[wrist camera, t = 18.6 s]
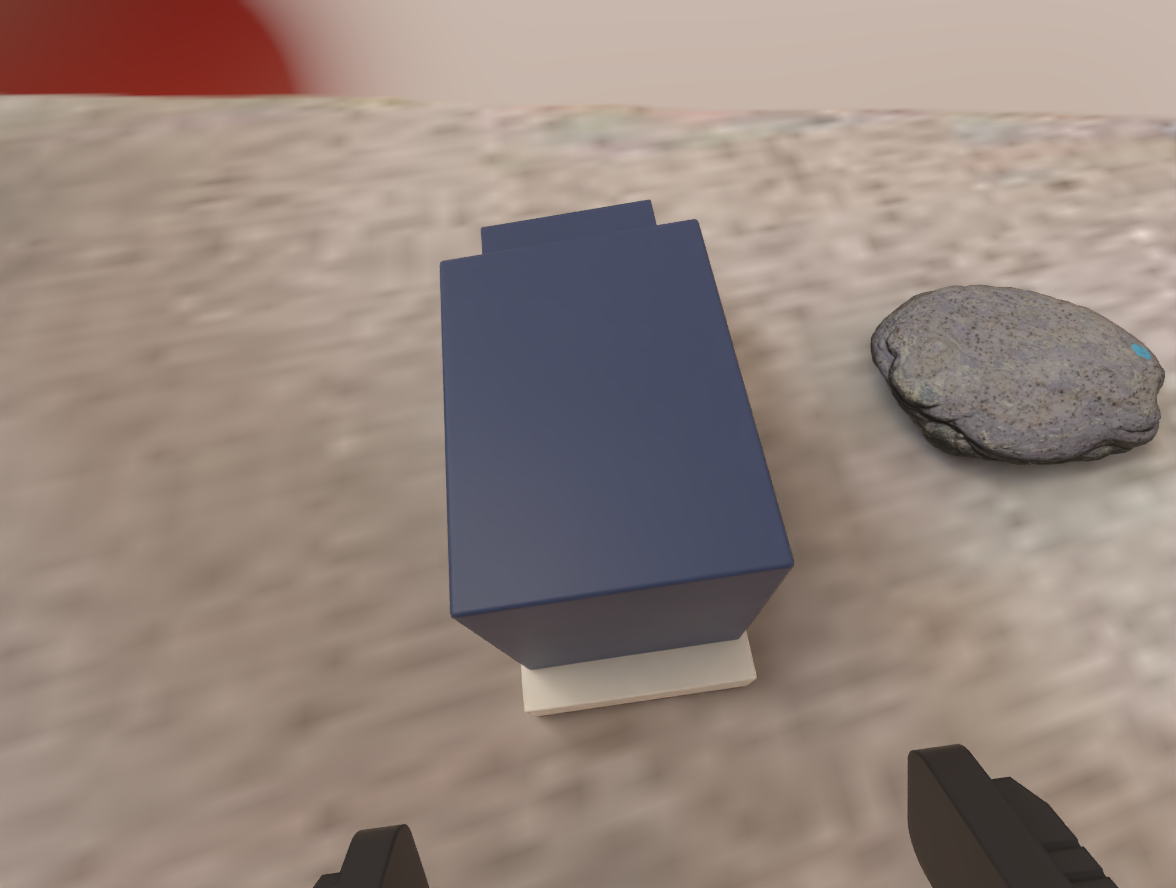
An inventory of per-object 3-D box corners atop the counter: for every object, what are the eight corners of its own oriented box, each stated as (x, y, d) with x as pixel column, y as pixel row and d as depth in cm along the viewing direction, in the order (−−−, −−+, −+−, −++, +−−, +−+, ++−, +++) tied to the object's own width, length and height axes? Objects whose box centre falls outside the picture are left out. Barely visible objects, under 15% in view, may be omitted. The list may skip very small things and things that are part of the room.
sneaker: (748, 685, 18) (828, 628, 10) (535, 716, 18) (437, 686, 10) (658, 293, 24) (661, 58, 16) (502, 318, 24) (425, 99, 16)
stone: (882, 280, 23) (903, 234, 21) (1141, 339, 21) (1191, 295, 19) (839, 435, 21) (858, 399, 19) (1129, 520, 18) (1185, 491, 17)
